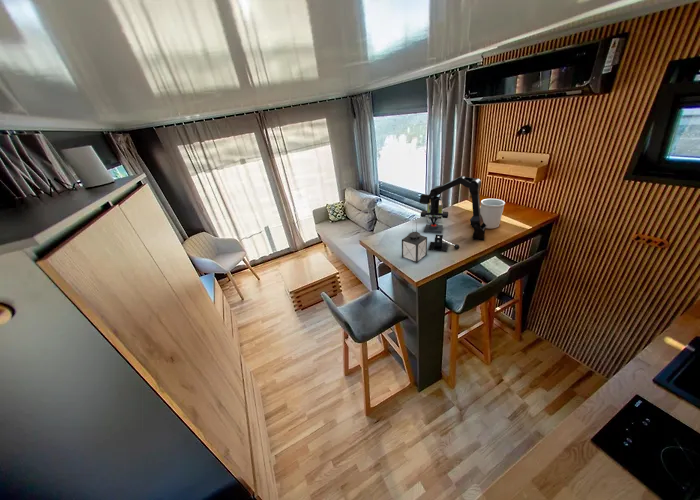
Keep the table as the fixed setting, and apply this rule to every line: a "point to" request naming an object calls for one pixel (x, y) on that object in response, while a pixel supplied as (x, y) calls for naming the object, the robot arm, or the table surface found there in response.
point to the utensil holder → (491, 212)
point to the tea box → (434, 216)
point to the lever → (450, 243)
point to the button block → (433, 228)
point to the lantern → (414, 246)
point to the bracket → (438, 244)
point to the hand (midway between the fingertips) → (433, 225)
